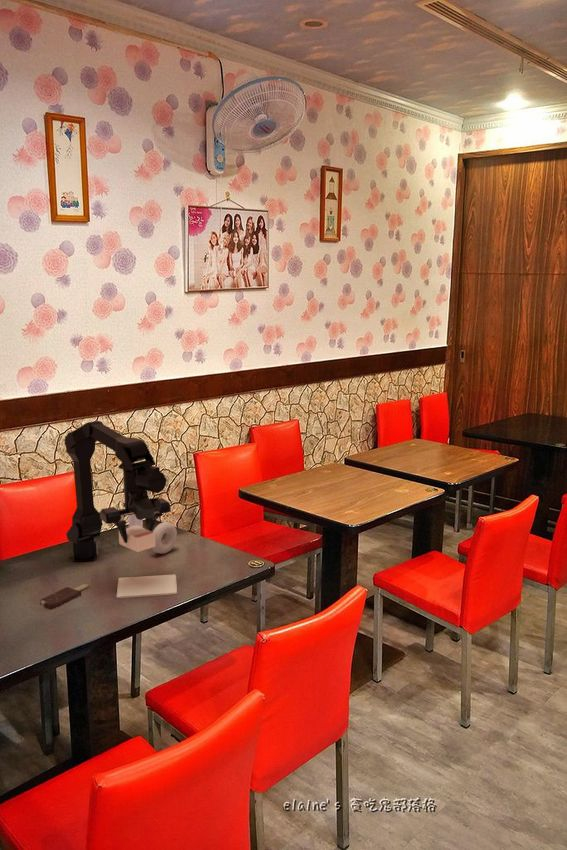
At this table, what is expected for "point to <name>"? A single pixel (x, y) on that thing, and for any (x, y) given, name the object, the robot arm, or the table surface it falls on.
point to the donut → (170, 537)
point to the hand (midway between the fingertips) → (137, 540)
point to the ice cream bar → (62, 596)
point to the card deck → (138, 539)
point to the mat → (146, 586)
